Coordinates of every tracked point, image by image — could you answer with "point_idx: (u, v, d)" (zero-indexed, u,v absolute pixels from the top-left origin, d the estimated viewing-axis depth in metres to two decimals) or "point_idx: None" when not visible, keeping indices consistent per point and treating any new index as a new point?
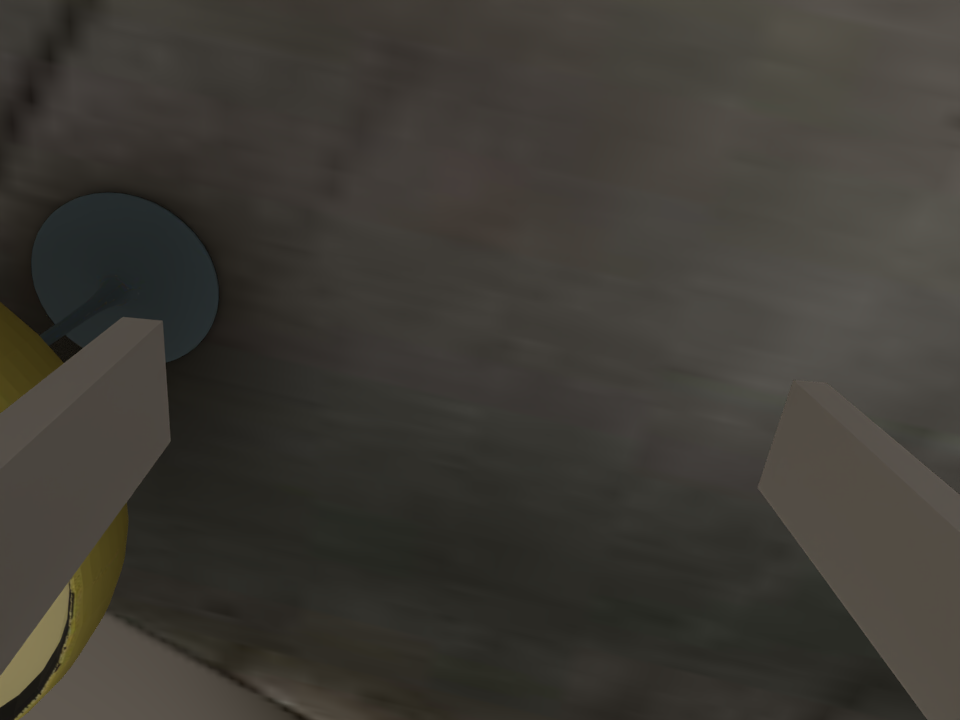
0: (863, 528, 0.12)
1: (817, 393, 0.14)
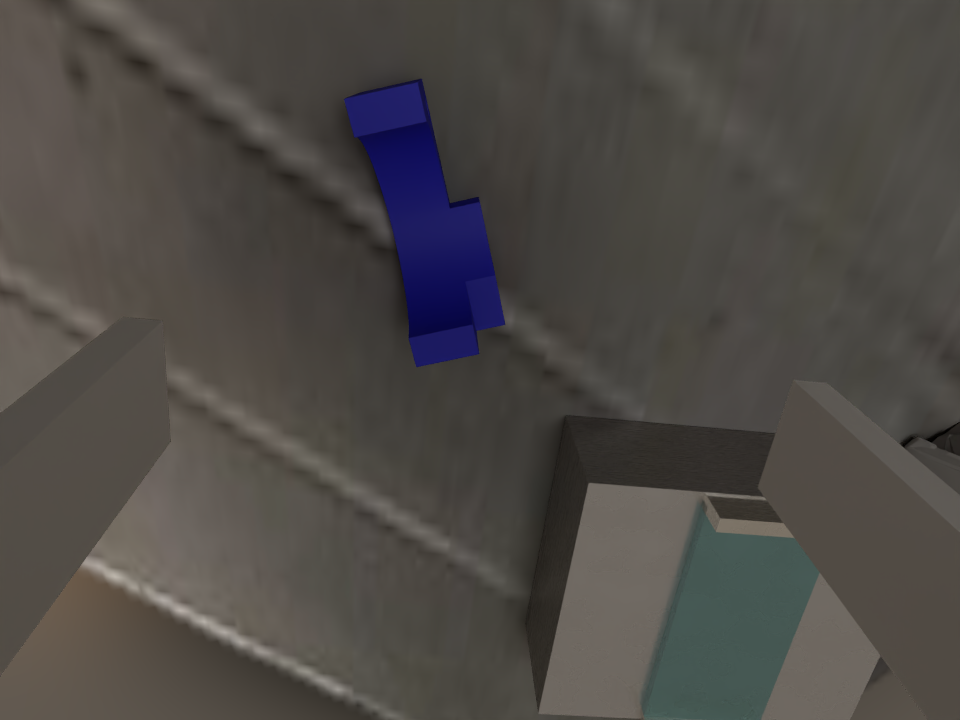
0: (863, 528, 0.12)
1: (817, 393, 0.14)
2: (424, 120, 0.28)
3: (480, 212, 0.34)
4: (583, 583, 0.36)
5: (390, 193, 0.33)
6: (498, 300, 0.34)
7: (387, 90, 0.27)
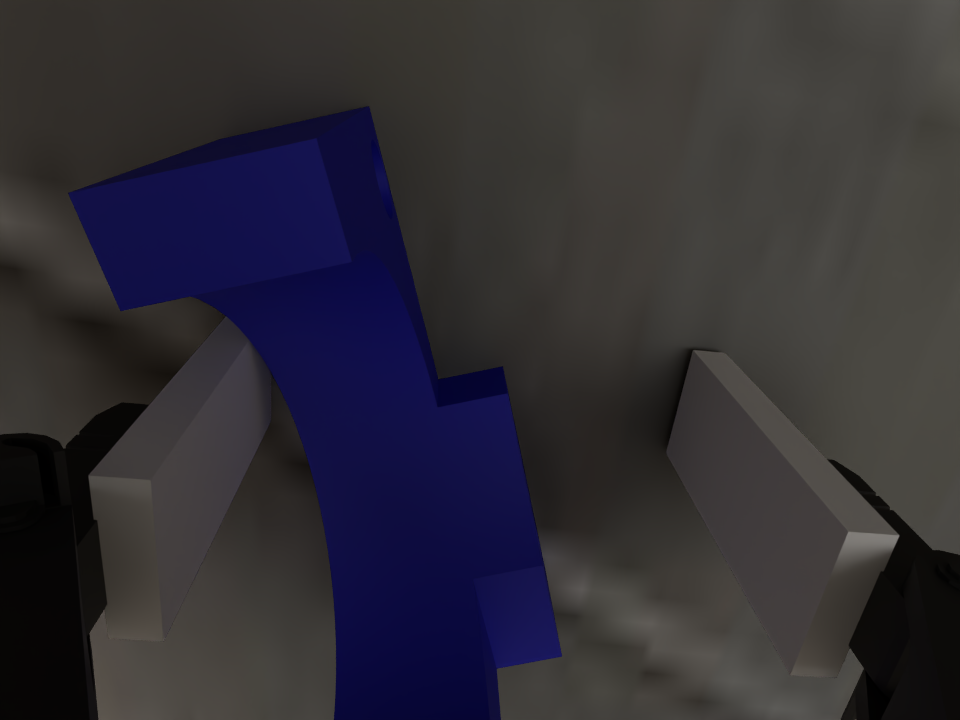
0: (737, 481, 0.13)
1: (712, 361, 0.15)
2: (345, 259, 0.08)
3: (508, 415, 0.15)
4: None
5: (295, 379, 0.14)
6: (548, 612, 0.15)
7: (213, 165, 0.08)
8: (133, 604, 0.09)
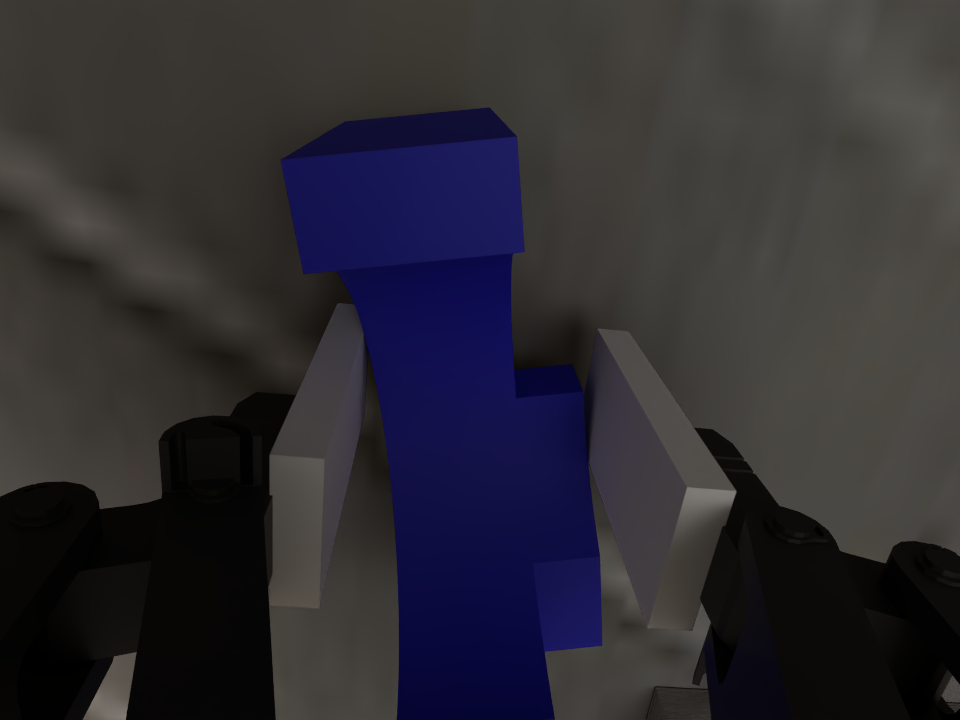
0: (620, 449, 0.13)
1: (612, 338, 0.15)
2: (519, 249, 0.09)
3: (581, 412, 0.15)
4: None
5: (388, 357, 0.14)
6: (597, 602, 0.16)
7: (420, 150, 0.09)
8: (295, 573, 0.10)
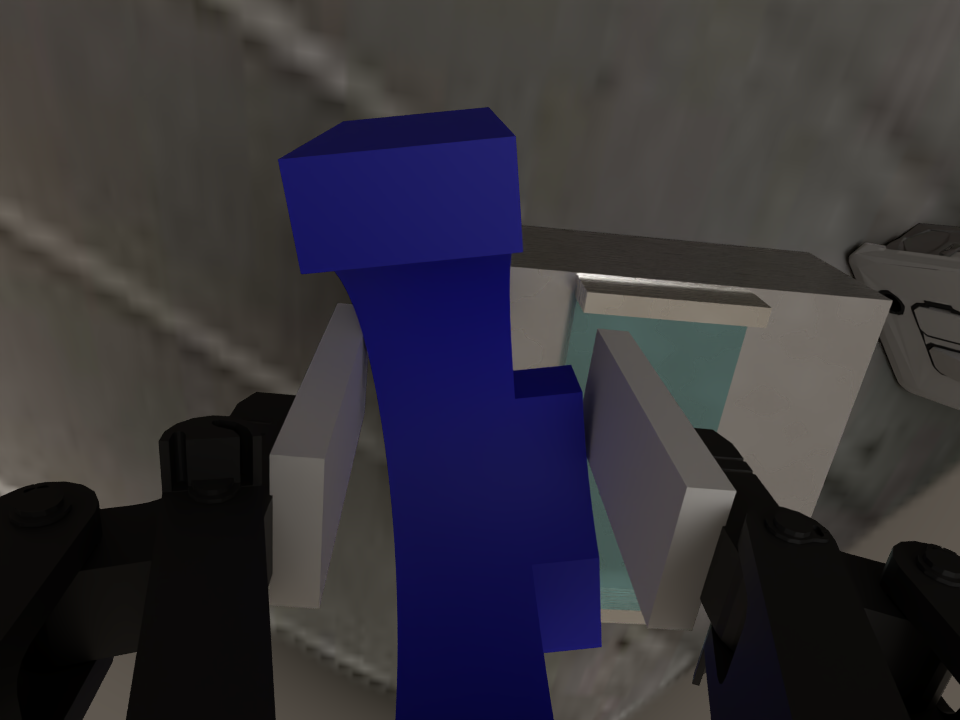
0: (620, 449, 0.13)
1: (612, 338, 0.15)
2: (517, 249, 0.09)
3: (580, 413, 0.15)
4: None
5: (387, 358, 0.14)
6: (596, 604, 0.16)
7: (418, 150, 0.09)
8: (296, 573, 0.10)
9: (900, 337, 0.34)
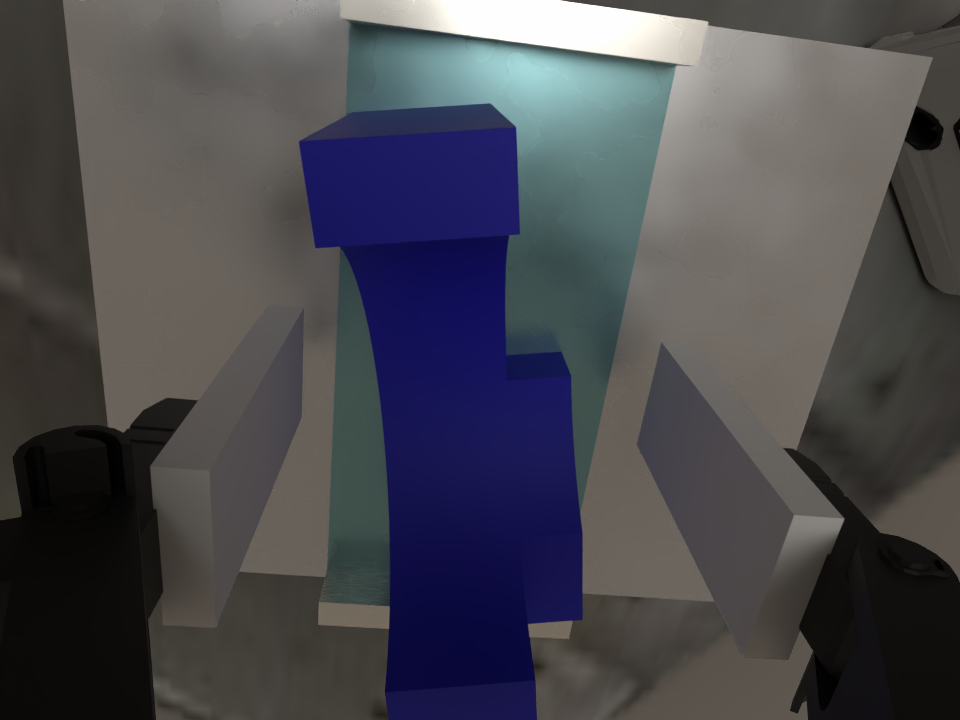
0: (698, 469, 0.13)
1: (679, 353, 0.15)
2: (515, 231, 0.10)
3: (568, 396, 0.16)
4: (127, 240, 0.16)
5: (387, 337, 0.15)
6: (578, 577, 0.17)
7: (427, 137, 0.09)
8: (188, 591, 0.10)
9: (933, 193, 0.22)
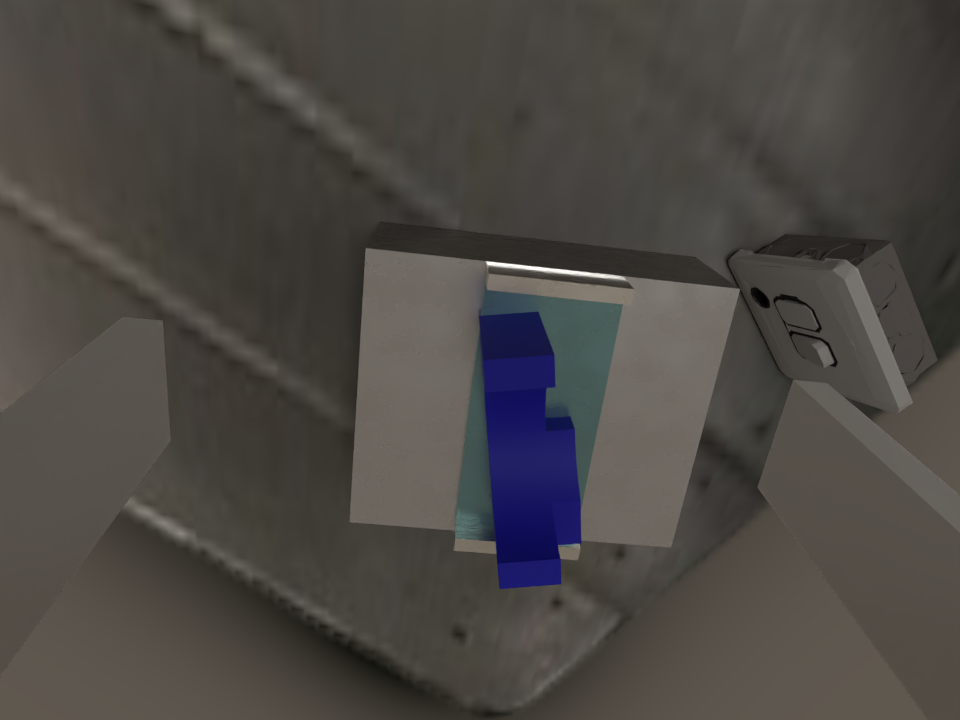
0: (863, 528, 0.12)
1: (817, 393, 0.14)
2: (553, 386, 0.29)
3: (573, 438, 0.35)
4: (376, 366, 0.36)
5: (493, 413, 0.35)
6: (579, 522, 0.36)
7: (525, 358, 0.29)
8: None
9: (772, 327, 0.42)
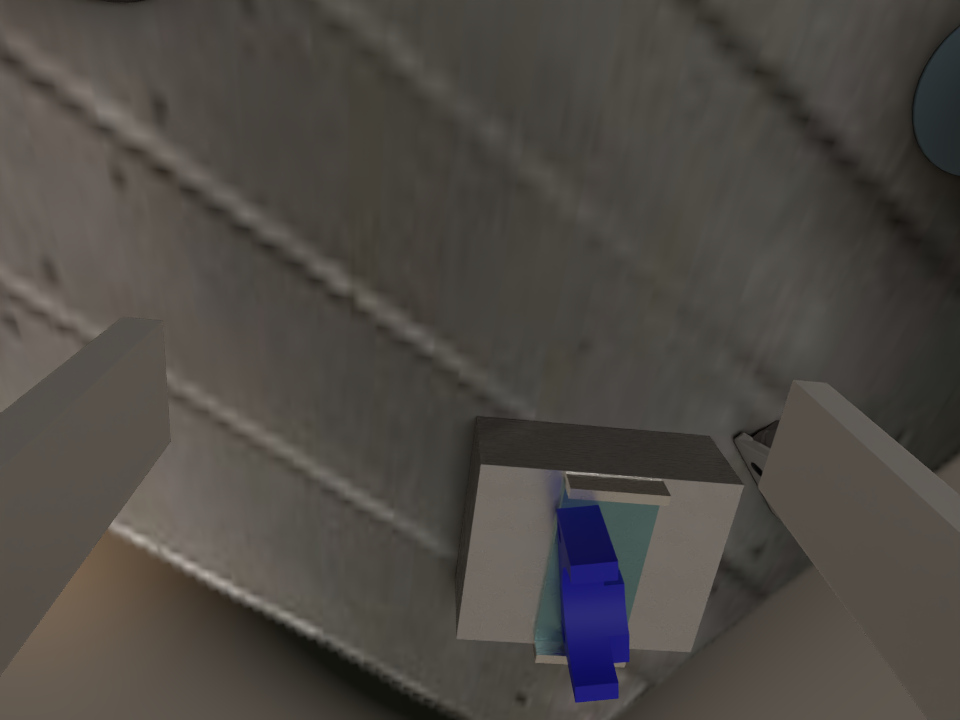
0: (863, 528, 0.12)
1: (817, 393, 0.14)
2: (617, 579, 0.44)
3: (623, 589, 0.50)
4: (482, 538, 0.50)
5: (567, 576, 0.49)
6: (628, 648, 0.50)
7: (598, 564, 0.43)
8: None
9: None
